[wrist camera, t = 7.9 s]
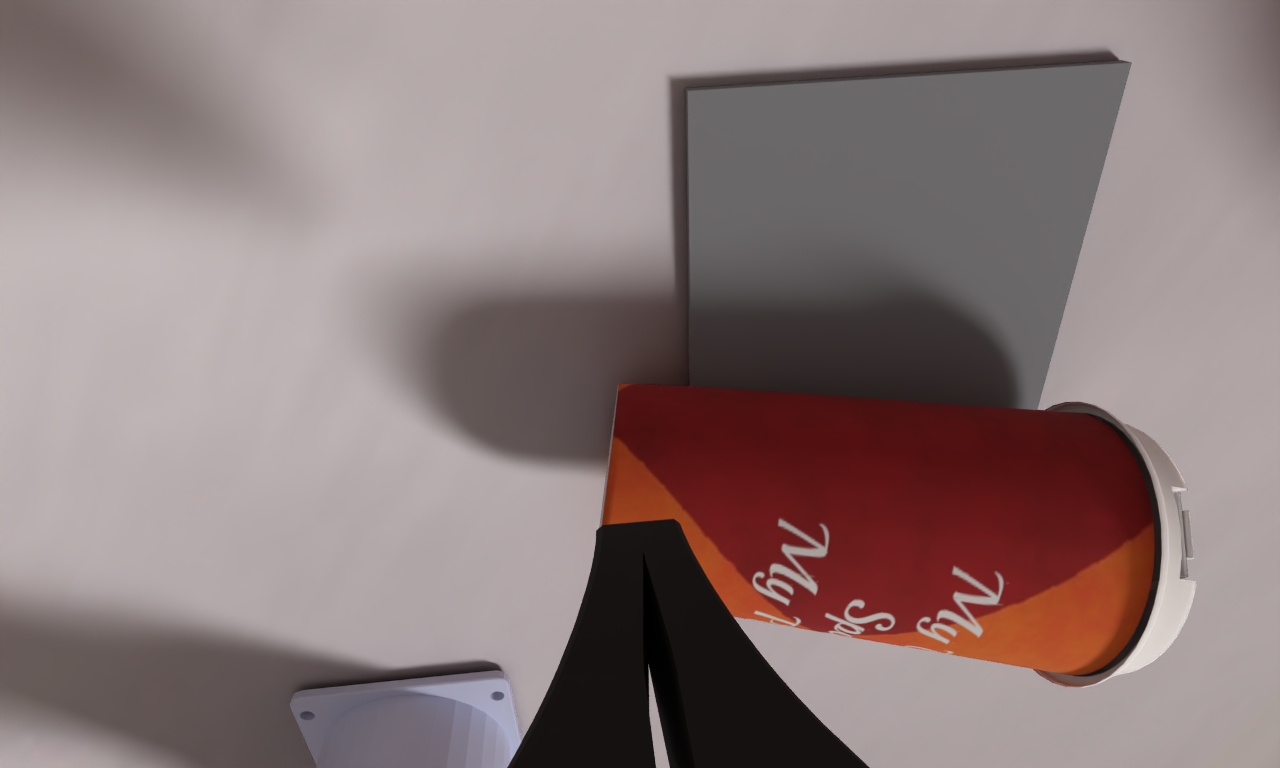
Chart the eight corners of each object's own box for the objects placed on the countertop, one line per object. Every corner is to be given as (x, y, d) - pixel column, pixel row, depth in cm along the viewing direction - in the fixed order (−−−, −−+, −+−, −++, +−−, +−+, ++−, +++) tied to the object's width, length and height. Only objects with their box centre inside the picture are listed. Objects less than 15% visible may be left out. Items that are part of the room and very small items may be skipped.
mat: (994, 539, 27) (1000, 546, 27) (691, 568, 26) (693, 576, 26) (1121, 60, 19) (1131, 62, 18) (685, 87, 18) (687, 90, 18)
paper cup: (588, 640, 16) (1237, 713, 16) (630, 298, 18) (1200, 373, 18) (586, 627, 23) (1029, 677, 24) (616, 388, 25) (1020, 439, 26)
